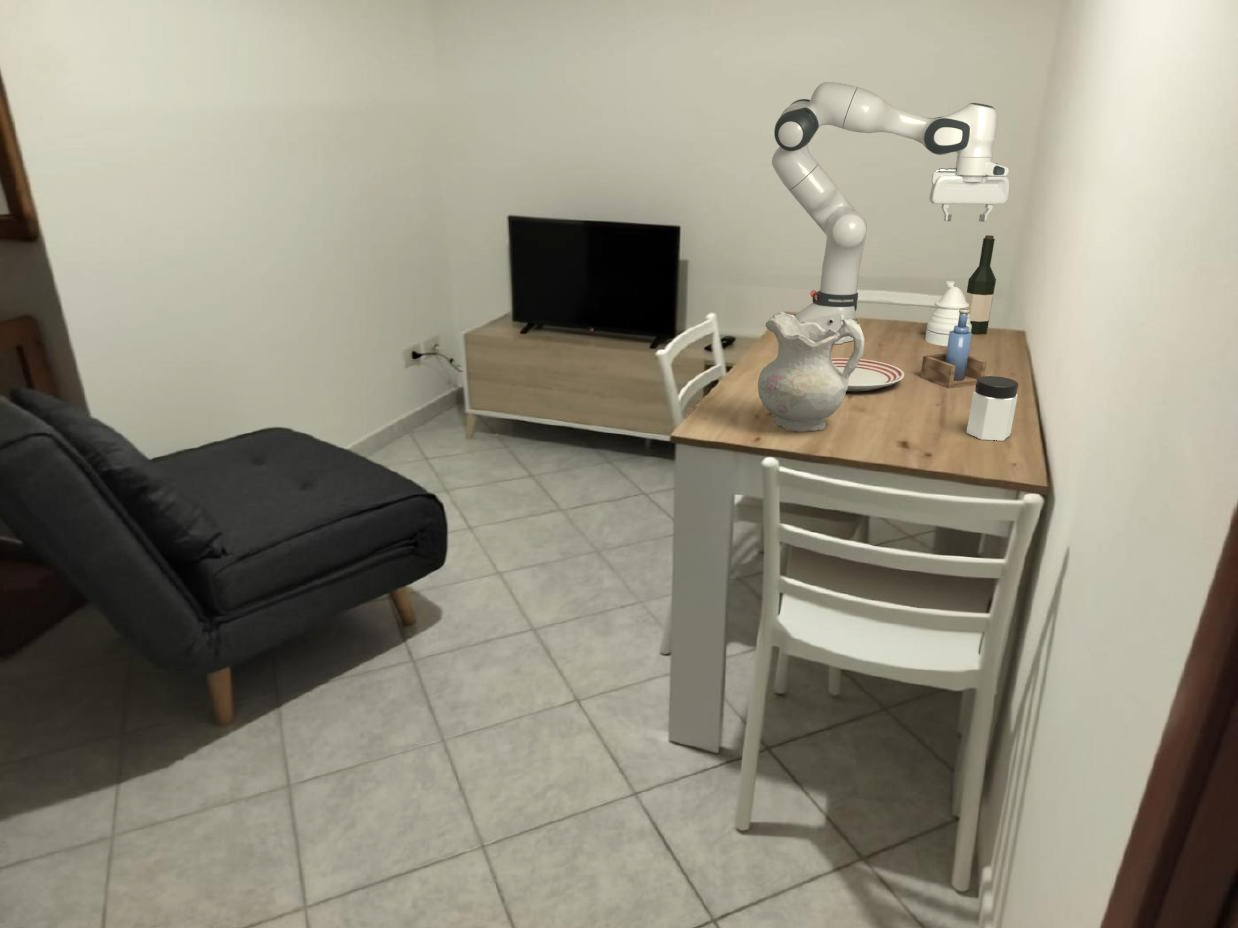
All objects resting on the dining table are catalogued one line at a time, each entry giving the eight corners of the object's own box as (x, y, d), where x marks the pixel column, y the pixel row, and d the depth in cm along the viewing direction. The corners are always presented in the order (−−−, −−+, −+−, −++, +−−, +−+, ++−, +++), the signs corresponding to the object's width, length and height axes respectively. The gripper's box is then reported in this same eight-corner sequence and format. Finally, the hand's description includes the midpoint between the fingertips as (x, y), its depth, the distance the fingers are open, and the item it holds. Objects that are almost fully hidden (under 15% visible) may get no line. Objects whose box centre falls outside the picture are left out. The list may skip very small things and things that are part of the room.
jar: (975, 425, 186) (984, 373, 181) (1013, 433, 181) (1024, 380, 176) (961, 435, 180) (970, 382, 175) (1000, 444, 175) (1011, 389, 170)
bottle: (941, 379, 215) (952, 310, 209) (943, 374, 220) (953, 306, 213) (964, 381, 214) (975, 312, 207) (965, 376, 218) (976, 308, 211)
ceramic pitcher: (852, 419, 193) (863, 311, 185) (855, 442, 175) (868, 323, 167) (758, 412, 197) (765, 307, 190) (752, 434, 179) (759, 318, 172)
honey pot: (916, 339, 258) (924, 281, 251) (942, 334, 265) (951, 277, 258) (951, 348, 248) (960, 288, 241) (978, 343, 255) (988, 283, 248)
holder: (982, 383, 215) (986, 361, 213) (948, 388, 211) (951, 366, 209) (953, 372, 224) (957, 352, 222) (920, 377, 220) (923, 356, 218)
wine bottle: (983, 328, 272) (999, 234, 260) (991, 334, 264) (1008, 237, 252) (956, 328, 272) (971, 234, 261) (964, 334, 265) (979, 237, 253)
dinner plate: (774, 382, 217) (775, 370, 216) (827, 361, 235) (828, 350, 234) (871, 405, 200) (873, 392, 198) (920, 381, 218) (922, 368, 217)
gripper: (936, 168, 223) (929, 222, 229) (1015, 169, 221) (1006, 222, 227) (930, 167, 229) (923, 219, 234) (1007, 168, 227) (998, 220, 233)
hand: (964, 221), depth 231 cm, fingers open, 8 cm apart
